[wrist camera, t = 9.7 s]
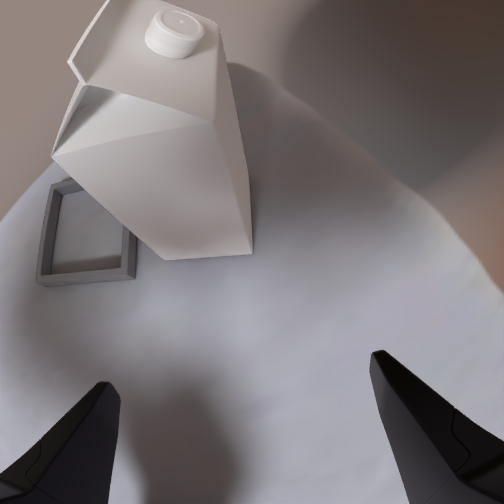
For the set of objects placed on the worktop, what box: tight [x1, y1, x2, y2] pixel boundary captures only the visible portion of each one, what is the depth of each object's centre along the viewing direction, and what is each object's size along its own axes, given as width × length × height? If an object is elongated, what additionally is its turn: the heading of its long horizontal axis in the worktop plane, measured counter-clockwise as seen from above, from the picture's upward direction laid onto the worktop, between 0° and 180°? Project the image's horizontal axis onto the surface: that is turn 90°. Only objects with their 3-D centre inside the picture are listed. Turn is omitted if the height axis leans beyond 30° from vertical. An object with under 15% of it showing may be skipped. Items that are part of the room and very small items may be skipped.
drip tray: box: [36, 179, 137, 286], centre depth 26 cm, size 10×10×2 cm
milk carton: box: [51, 0, 253, 260], centre depth 17 cm, size 7×7×19 cm
